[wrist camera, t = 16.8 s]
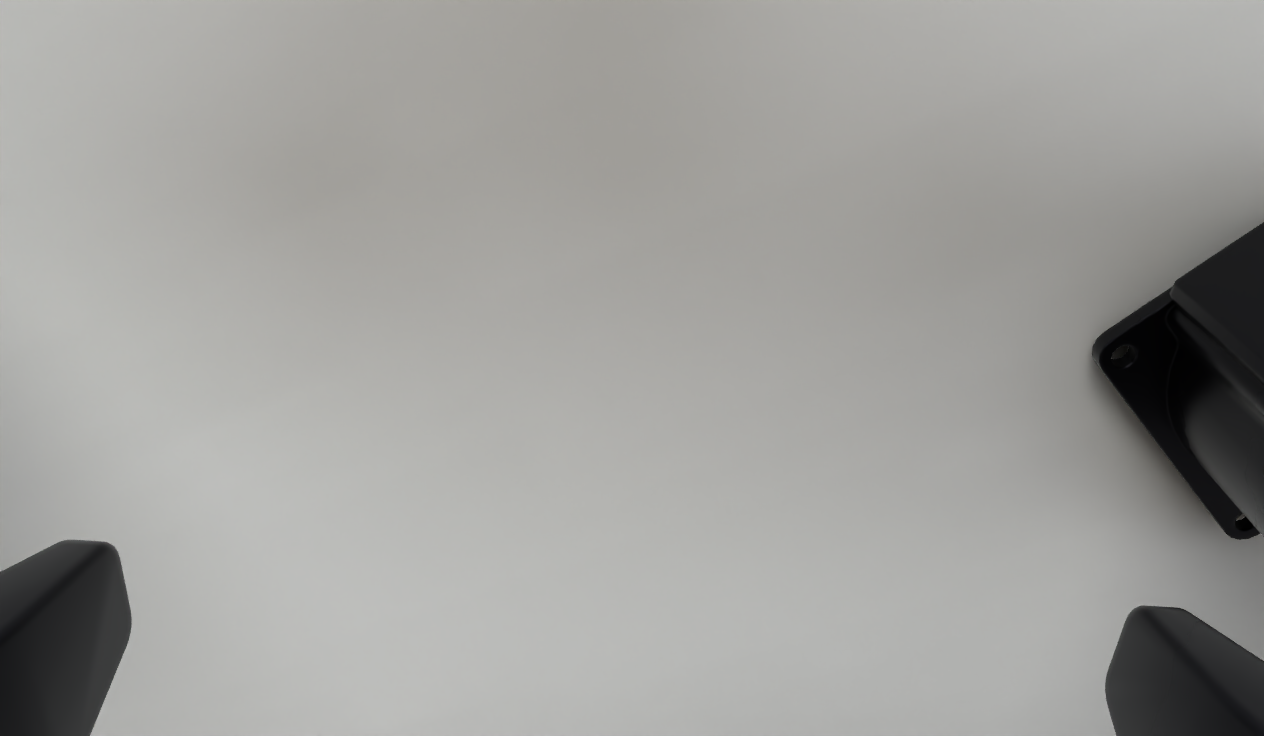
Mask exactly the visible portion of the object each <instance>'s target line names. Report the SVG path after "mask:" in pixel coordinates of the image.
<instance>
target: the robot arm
mask: <svg viewBox="0 0 1264 736" xmlns="http://www.w3.org/2000/svg"><path fill="white" fill-rule="evenodd" d="M1122 346H1129V347H1128V350H1127V352H1126V353H1125V354H1124V355H1123V356H1122V357H1120V358H1117V359H1111V357H1112V353H1113V352H1114V351H1115V350H1116V349H1117V348H1119V347H1122ZM1092 356H1093V358H1094V360H1095V362H1096V364H1097V365H1098V366H1099V368H1100V369H1101V370H1102V372H1103V373H1104V374H1105V376H1106V377H1107V378H1108V380H1109V381H1110V382H1111V383H1112V385H1113V386H1114V387H1115V389H1116V390H1117V391H1118V393H1119V394H1120V395H1121V397H1122V398H1123V399H1124V401H1125V402H1126V403H1127V405H1128V406H1129V407H1130V408H1131V410H1132V411H1133V412H1134V414H1135V415H1136V416H1137V418H1138V419H1139V420H1140V422H1141V423H1142V424H1143V426H1144V427H1145V428H1146V430H1147V431H1148V432H1149V434H1150V435H1151V436H1152V437H1153V439H1154V440H1155V441H1156V443H1157V444H1158V445H1159V447H1160V448H1161V449H1162V451H1163V452H1164V453H1165V455H1166V456H1167V457H1168V459H1169V460H1170V461H1171V463H1172V464H1173V465H1174V466H1175V468H1176V469H1177V470H1178V472H1179V473H1180V474H1181V476H1182V477H1183V478H1184V480H1185V481H1186V482H1187V484H1188V485H1189V486H1190V488H1191V489H1192V490H1193V491H1194V493H1195V494H1196V495H1197V497H1198V498H1199V499H1200V501H1201V502H1202V503H1203V505H1204V506H1205V507H1206V509H1207V510H1208V511H1209V513H1210V514H1211V515H1212V517H1213V518H1214V519H1215V520H1216V522H1217V523H1218V524H1219V526H1220V527H1221V528H1222V529H1223V530H1224V532H1225V533H1226V534H1227V535H1229V536H1230V537H1231V538H1235V539H1239V540H1241V539H1249V538H1251V537H1254V536H1256V535H1258V534H1260V533H1261V534H1262V536H1263V537H1264V222H1263V223H1262V224H1260V225H1259V226H1257V227H1256V228H1254V229H1253V230H1251V231H1250V232H1248V233H1247V234H1245V235H1244V236H1242V237H1241V238H1239V239H1238V240H1236V241H1235V242H1233V243H1232V244H1230V245H1229V246H1227V247H1226V248H1224V249H1223V250H1221V251H1220V252H1218V253H1217V254H1215V255H1214V256H1212V257H1211V258H1209V259H1208V260H1206V261H1205V262H1203V263H1202V264H1200V265H1199V266H1197V267H1196V268H1194V269H1193V270H1191V271H1190V272H1188V273H1187V274H1185V275H1184V276H1182V277H1181V278H1179V279H1178V280H1176V281H1175V283H1174V285H1173V287H1171V288H1170V289H1168V290H1167V291H1165V292H1164V293H1162V294H1161V295H1159V296H1158V297H1156V298H1155V299H1153V300H1152V301H1150V302H1149V303H1147V304H1146V305H1144V306H1143V307H1141V308H1140V309H1138V310H1137V311H1135V312H1134V313H1132V314H1131V315H1129V316H1128V317H1126V318H1125V319H1123V320H1122V321H1120V322H1119V323H1117V324H1116V325H1114V326H1113V327H1111V328H1110V329H1108V330H1107V331H1105V332H1104V333H1103V334H1102V335H1100V336H1099V337H1098V338H1097V340H1096V342H1095V343H1094V345H1093V351H1092ZM1241 514H1244V515H1245V517H1244V518H1243V519H1240V520H1237V521H1236V518H1238V517H1239V516H1240V515H1241ZM130 632H131V610H130V605H129V600H128V595H127V591H126V586H125V581H124V576H123V571H122V566H121V561H120V557H119V554H118V551H117V550H116V548H115V547H114V546H113V545H111V544H110V543H108V542H101V541H85V540H64V541H61V542H58V543H56V544H54V545H52V546H50V547H48V548H46V549H44V550H42V551H40V552H39V553H37V554H35V555H33V556H31V557H29V558H27V559H25V560H23V561H21V562H19V563H17V564H15V565H13V566H11V567H9V568H7V569H5V570H3V571H1V572H0V736H90V734H91V732H92V729H93V727H94V724H95V722H96V719H97V717H98V714H99V712H100V710H101V707H102V705H103V702H104V700H105V697H106V695H107V692H108V690H109V688H110V685H111V683H112V680H113V678H114V675H115V673H116V670H117V668H118V666H119V663H120V661H121V658H122V656H123V653H124V651H125V648H126V646H127V643H128V640H129V636H130ZM1105 692H1106V700H1107V704H1108V708H1109V711H1110V715H1111V718H1112V722H1113V725H1114V729H1115V732H1116V736H1264V661H1263V660H1261V659H1260V658H1258V657H1257V656H1255V655H1254V654H1252V653H1250V652H1249V651H1247V650H1246V649H1244V648H1243V647H1241V646H1240V645H1238V644H1237V643H1235V642H1234V641H1232V640H1231V639H1229V638H1228V637H1226V636H1225V635H1223V634H1222V633H1220V632H1219V631H1217V630H1216V629H1214V628H1213V627H1211V626H1210V625H1208V624H1207V623H1205V622H1204V621H1202V620H1200V619H1199V618H1197V617H1196V616H1194V615H1193V614H1191V613H1190V612H1188V611H1186V610H1184V609H1181V608H1174V607H1158V606H1139V607H1136V608H1134V609H1133V610H1132V611H1131V612H1130V613H1129V615H1128V617H1127V619H1126V621H1125V624H1124V627H1123V630H1122V632H1121V635H1120V638H1119V641H1118V644H1117V646H1116V649H1115V652H1114V655H1113V658H1112V660H1111V663H1110V666H1109V669H1108V672H1107V676H1106V683H1105Z"/></svg>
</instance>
